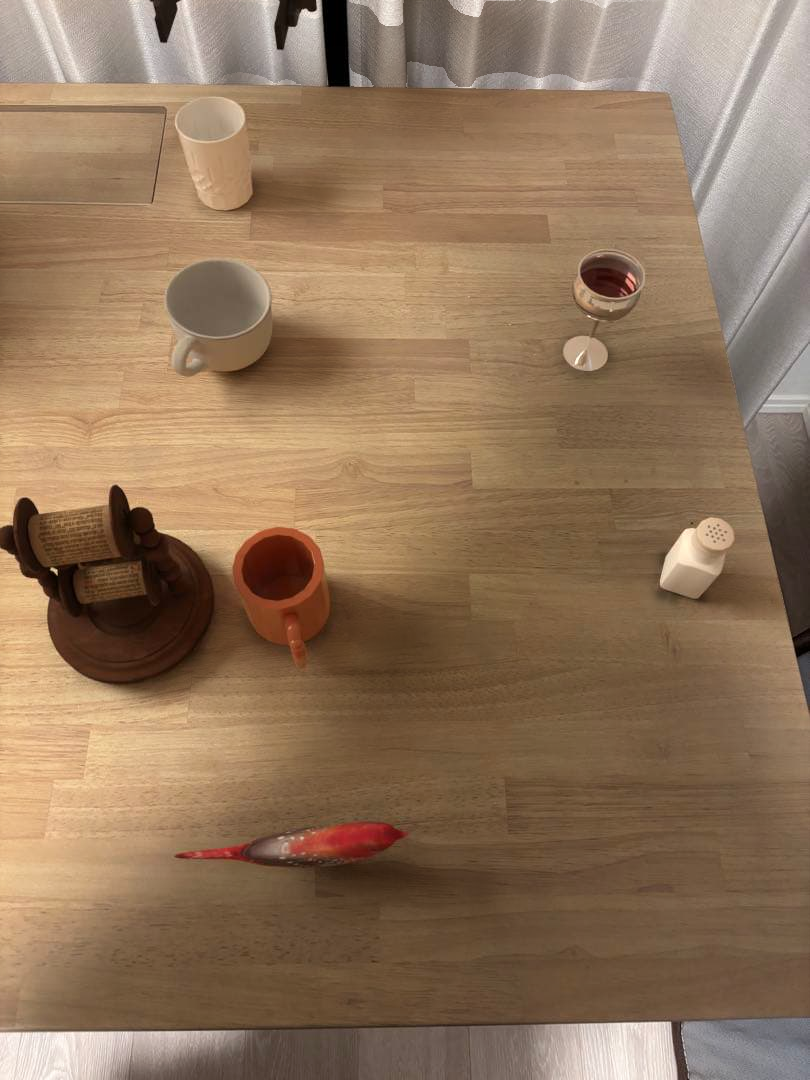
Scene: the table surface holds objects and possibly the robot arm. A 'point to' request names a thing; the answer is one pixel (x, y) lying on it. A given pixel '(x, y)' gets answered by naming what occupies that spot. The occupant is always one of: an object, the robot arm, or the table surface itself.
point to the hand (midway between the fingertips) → (219, 35)
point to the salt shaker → (697, 558)
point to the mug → (283, 587)
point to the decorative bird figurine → (310, 846)
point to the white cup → (216, 151)
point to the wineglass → (602, 301)
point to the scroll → (113, 588)
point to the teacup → (218, 316)
